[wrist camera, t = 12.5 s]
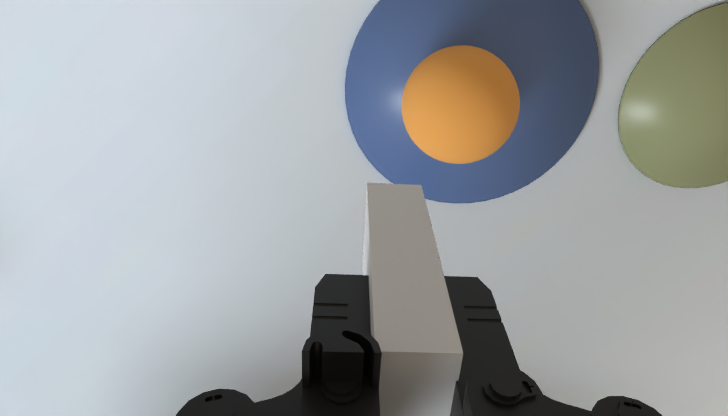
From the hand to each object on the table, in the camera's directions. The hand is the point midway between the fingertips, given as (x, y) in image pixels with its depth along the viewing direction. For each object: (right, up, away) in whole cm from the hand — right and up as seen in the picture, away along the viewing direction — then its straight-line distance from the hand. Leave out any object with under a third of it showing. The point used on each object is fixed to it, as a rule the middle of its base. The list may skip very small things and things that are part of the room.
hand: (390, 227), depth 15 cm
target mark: (+5, +7, +13) cm, 15 cm away
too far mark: (+18, +6, +13) cm, 23 cm away
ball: (+4, +5, +10) cm, 12 cm away
